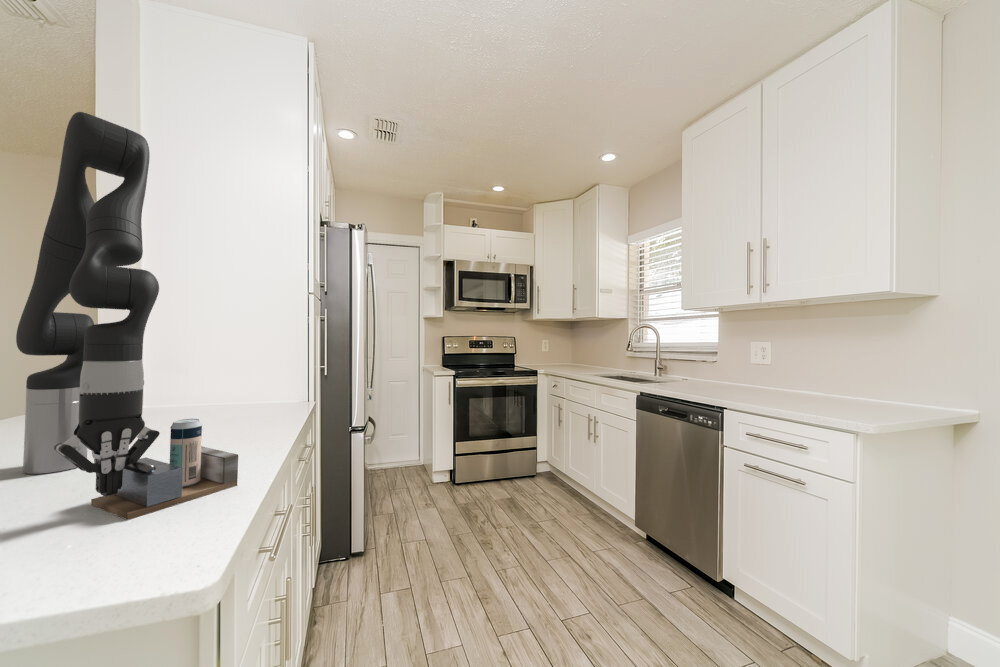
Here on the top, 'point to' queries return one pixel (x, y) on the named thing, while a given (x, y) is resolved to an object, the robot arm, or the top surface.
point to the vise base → (214, 476)
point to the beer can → (187, 449)
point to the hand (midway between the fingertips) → (108, 493)
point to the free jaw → (151, 482)
